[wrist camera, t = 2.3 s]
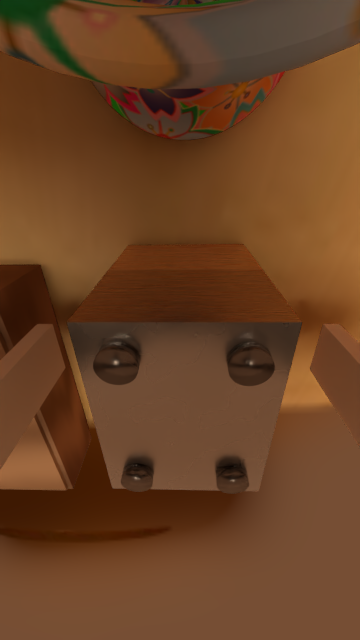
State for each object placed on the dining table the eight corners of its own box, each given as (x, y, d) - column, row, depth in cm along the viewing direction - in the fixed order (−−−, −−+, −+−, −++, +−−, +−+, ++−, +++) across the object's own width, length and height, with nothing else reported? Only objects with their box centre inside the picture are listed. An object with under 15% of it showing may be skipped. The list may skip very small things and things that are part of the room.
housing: (128, 244, 14) (60, 330, 6) (243, 243, 13) (308, 330, 6) (142, 363, 18) (109, 498, 10) (230, 363, 17) (260, 502, 10)
